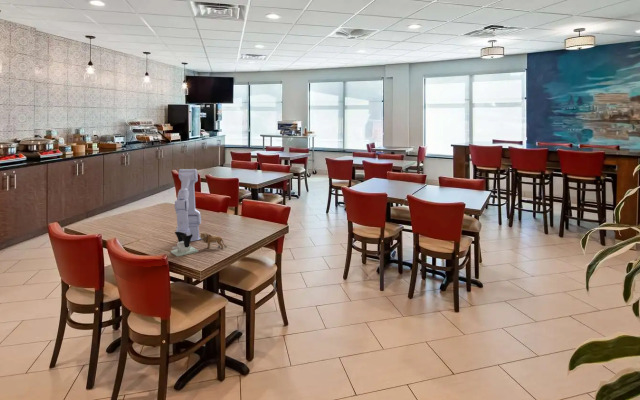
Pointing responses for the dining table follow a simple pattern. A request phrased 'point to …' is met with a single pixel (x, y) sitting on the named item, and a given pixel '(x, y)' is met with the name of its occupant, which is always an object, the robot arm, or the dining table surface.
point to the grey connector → (181, 247)
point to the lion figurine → (211, 239)
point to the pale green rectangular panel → (192, 250)
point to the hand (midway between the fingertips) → (184, 245)
